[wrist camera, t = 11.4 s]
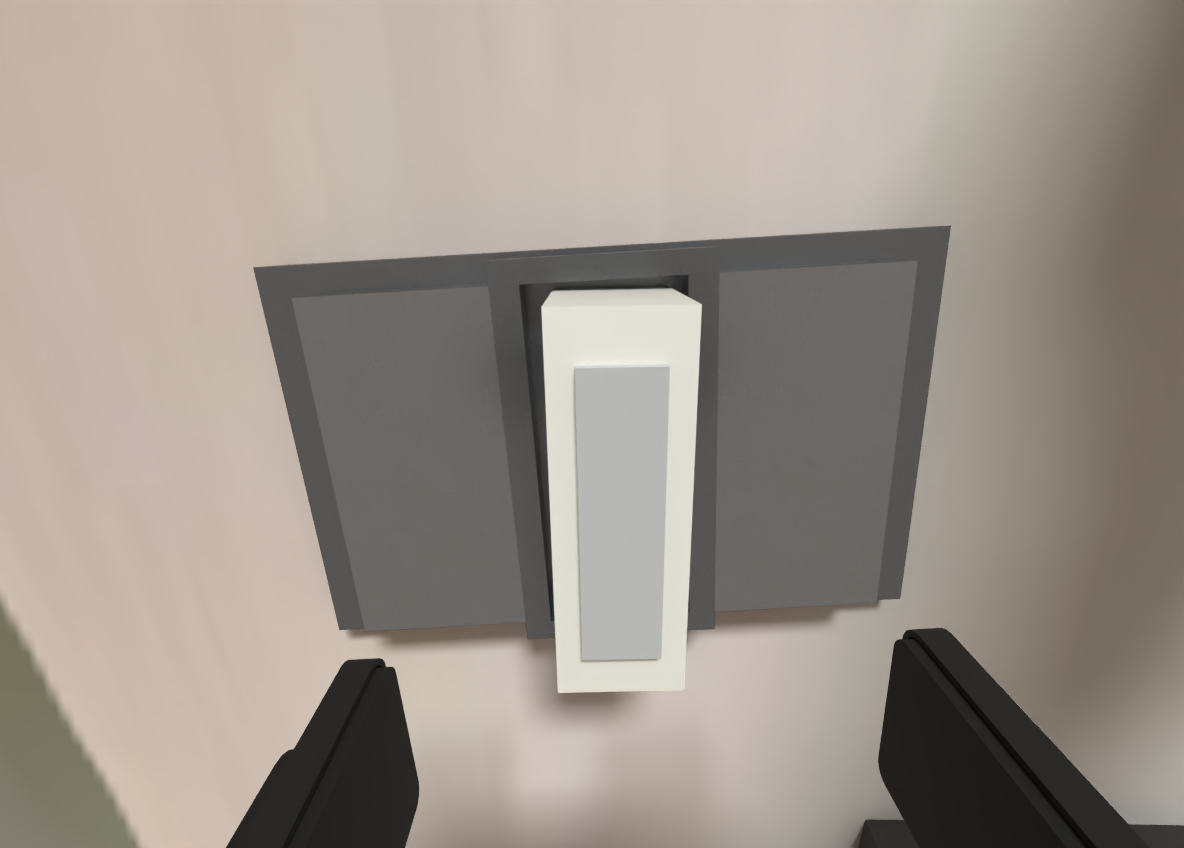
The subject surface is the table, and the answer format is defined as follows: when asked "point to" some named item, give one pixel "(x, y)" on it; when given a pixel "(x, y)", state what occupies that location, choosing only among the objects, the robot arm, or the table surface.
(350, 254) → the table surface
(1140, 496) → the table surface
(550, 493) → the blanking panel
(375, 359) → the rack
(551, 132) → the table surface
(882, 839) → the video game console
